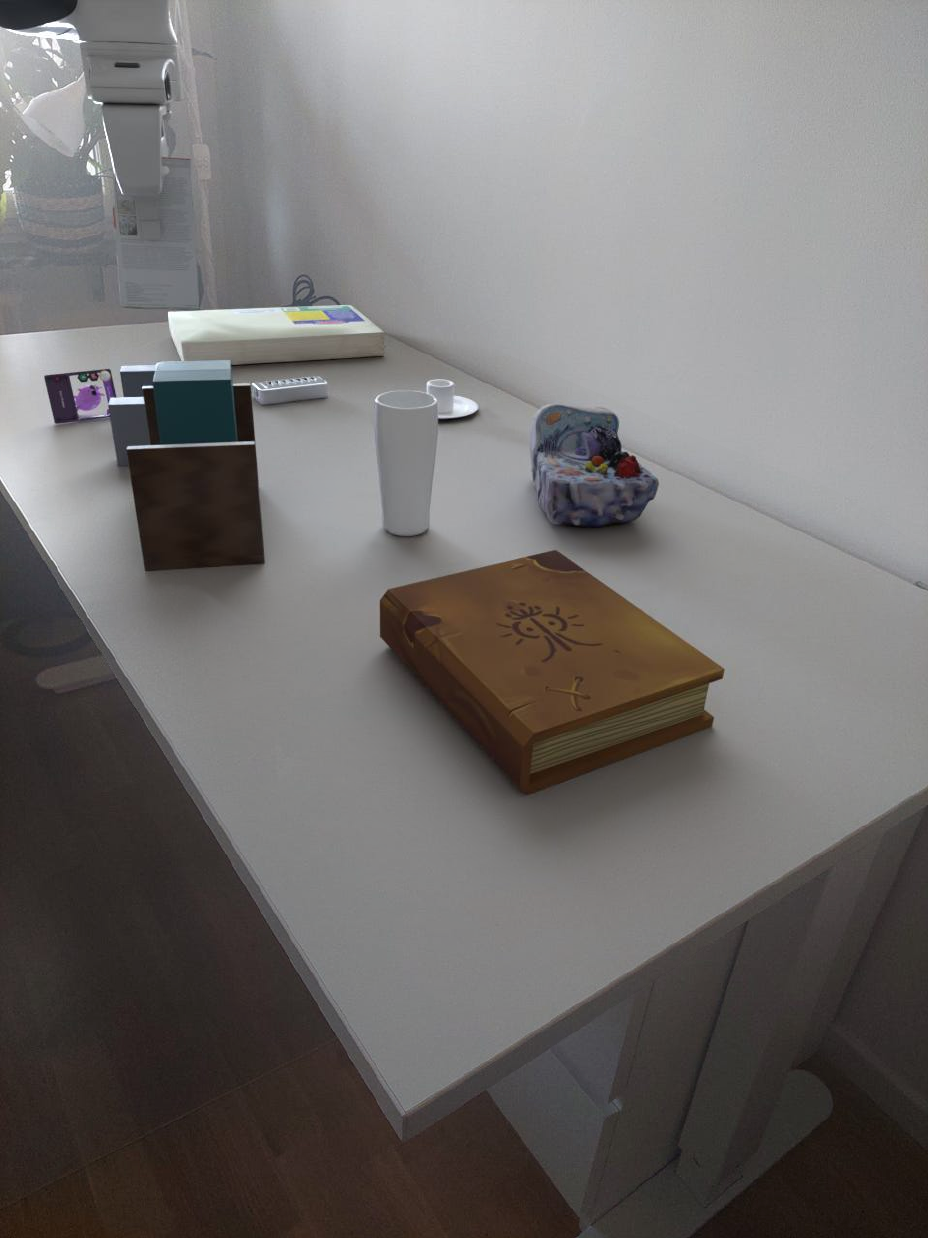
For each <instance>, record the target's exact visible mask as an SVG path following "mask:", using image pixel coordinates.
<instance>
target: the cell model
mask: <svg viewBox="0 0 928 1238" xmlns="http://www.w3.org/2000/svg"><path fill="white" fill-rule="evenodd" d="M619 428H620V420H619V417H618V415H617V414H616V413H615V412H613V411H611V409H608V408H606V407H603V406H581V405H580V406H579V405H571V404H563V403H562V404H560V403H551V404H546V405H543V406H541V408H540V409H538V410H537V412H536V413H535V415H534V417H533V421H532V426H531V431H530V439H529V453H530V460H531V461H530V466H531V467H530V472H531V476H532V481H533V483H534V485H533V486H534V490H535V491H536V494H537V496H536V497H537V498H536V499H537V501H538V506H539V507H540V509H542V511H544V513H545V514H546V517H547V519H548V521H549V522H550V523H551V524H552V525H569V526H574V527H584V528H585V527H586V528H587V527H588V528H601V527H604V526H607V525H611V524H626V523H631V522H634V521H636V520H638V518H640V516H641V515H642V513H643V512H644V510H645V508H647V505H648V504H649V502H650V501H653V500H654V499H655V498H656V495H657V491H658V489H659V486H660V482H659V479H658V477H657V476H655V474H653V472H652V471H651V470H649V469H648V468H646V467H644V466H643V465H642V464H640V462H639V461H638V460H637V457H636V455H630V453H629V452H628V451H622V447H623V446H622V442H621V440H620V438H619V433H618V432H619Z"/></svg>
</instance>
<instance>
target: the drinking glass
mask: <svg viewBox="0 0 928 1238" xmlns="http://www.w3.org/2000/svg"><path fill="white" fill-rule="evenodd" d="M438 432H439V419H438V401H437V399H436V397H434V396H433V395H431V394H428V393H427V392H424V391H419V390H409V389H400V390H390V391H387V392H383V393H380V394H379V395H377V396H376V397H375V400H374V441H375V442H374V443H375V450H376V460H377V461H376V462H377V470H378V479H379V480H378V481H379V490H380V500H381V502H380V503H381V516H382V517H381V521H382V527H383V529H384V530H385V531H386V532H387V533H390V534H391V535H395V536H399V537H414V536H418V535H421V534H423V533H424V532H426V531H428V529H429V527H430V521H431V502H432V493H433V492H432V491H433V482H434V473H435V464H436V457H437V456H436V454H437V446H438V434H439V433H438Z"/></svg>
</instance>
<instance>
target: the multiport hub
mask: <svg viewBox="0 0 928 1238" xmlns="http://www.w3.org/2000/svg"><path fill="white" fill-rule="evenodd" d="M252 395H253V396H252V397H253V399H254V400H255V401H256V402H258V403H259V405H262V406H264V405H265V406H266V405H273V404H281V403H282V404H284V403H290V402H291V403H292V402H300V401H308V400H317V399H324V398H328V397H329V390H328V382H327V381H326V380H325V379H323V378H322V377H321V376H319V375H314V376H313V375H312V376H304V377H296V378H295V377H294V378H285V379H284V378H283V379H274V380H265V381H257V382H253V383H252Z"/></svg>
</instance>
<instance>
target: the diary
mask: <svg viewBox="0 0 928 1238" xmlns="http://www.w3.org/2000/svg"><path fill="white" fill-rule="evenodd" d="M379 638H380V639H381V640H383V642H384V643H385V644H386V646H388V648H390V649H391V651H392V652H394V654H395V655H396V656H397V657H398V658H399V660H401V661H402V663H404V665H405V666H407V668H408V669H409V670H410V671H411V672H412V673H413V674H414V676H415V677H416V678H417V679H418V680H419V681H420V682H421V683H422V684H423V685H424V686H425V687H426V688H427V689H428V691H429V692H430V693H431V694H432V695H433V696H434V697H435V698H436V699H437V700H438V702H439V703H440V704H441V705H442V706H443V707H444V708H445V709H446V711H447V712H449V714H451V716H452V717H453V718H454V719H455V720H456V721H457V722H458V724H459V725H461V727H462V728H463V729H464V730H465V731H466V732H467V733H468V734H469V735H470V736H471V737H472V739H473V740H474V741H475V743H477V744H478V745H479V746H480V747H481V748H482V750H483V751H485V753H486V754H487V755H488V756H489V757H490V759H492V760H493V761H494V763H495V764H496V765H497V766H498V767H499V768H500V769H501V770H502V771H503V772H504V773H505V775H507V777H508V778H509V779H510V780H511V781H512V782H513V783H514V784H515V785H516V787H517V788H518V789H519V790H521V791H522V792H524V793H525V794H526V795H531V794H534V793H537V792H539V791H542V790H545V789H547V788H551V787H553V786H555V785H558V784H561V783H563V782H566V781H569V780H572V779H573V778H577V777H580V776H582V775H586V774H588V773H590V772H593V771H596V770H599V769H601V768H604V767H607V766H609V765H612V764H614V763H618V762H620V761H622V760H625V759H628V758H630V757H633V756H636V755H639V754H642V753H644V752H647V751H650V750H652V749H655V748H657V747H660V746H662V745H665V744H668V743H671V742H673V741H676V740H679V739H681V738H682V739H683V738H684V737H687V736H689V735H693V734H695V733H699V732H700V731H703V730H706V729H708V728H711V727H713V725H714V719H715V716H714V715H712V714H711V713H709V711H707V710H705V705H706V701H707V696H708V691H709V687H710V684H711V683H714V682H717V681H720V680H723V679H724V675H725V670H726V668H724V667H723V666H721V664H718V663H717V662H715V660H713V659H712V658H710V657H709V656H707V655H706V654H704V653H703V652H701V650H699V649H697V648H696V647H694V646H693V645H692V644H691V643H689V642H687V641H686V640H684V638H682V637H680V636H679V635H677V634H676V633H675V632H674V631H672V630H670V629H669V628H668V627H666V626H665V625H663V624H662V623H661V622H659V621H657V620H656V619H655V618H653V617H652V616H651V615H649V614H648V613H646V612H645V611H644V610H642V609H641V608H639V607H638V606H636V605H635V604H633V603H632V602H631V601H629V600H628V599H627V598H625V597H624V596H622V595H621V594H620V593H618V592H616V591H615V590H614V589H613V588H611V587H610V586H608V585H607V584H605V583H604V582H602V581H601V580H600V579H598V578H597V577H595V575H593V574H591V573H590V572H589V571H587V570H585V568H582V567H581V566H580V565H579V564H577V563H576V562H574V561H573V560H571V559H570V558H569V557H568V556H566V555H565V554H563V553H561V552H560V551H558V550H557V549H552V550H549V551H544V552H540V553H537V554H532V555H528V556H523V557H518V558H514V559H511V560H505V561H502V562H498V563H493V564H489V565H485V566H480V567H477V568H476V567H475V568H472V569H468V570H464V571H459V572H456V573H451V574H447V575H442V576H438V577H434V578H429V579H425V580H422V581H421V580H420V581H417V582H413V583H409V584H404V585H400V586H396V587H391V588H387V590H386V591H385V593H384V594H383V595H382V596H381V598H380V599H379Z"/></svg>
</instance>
